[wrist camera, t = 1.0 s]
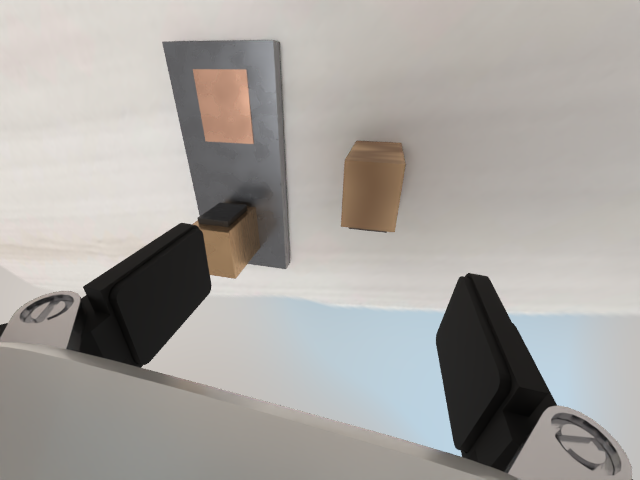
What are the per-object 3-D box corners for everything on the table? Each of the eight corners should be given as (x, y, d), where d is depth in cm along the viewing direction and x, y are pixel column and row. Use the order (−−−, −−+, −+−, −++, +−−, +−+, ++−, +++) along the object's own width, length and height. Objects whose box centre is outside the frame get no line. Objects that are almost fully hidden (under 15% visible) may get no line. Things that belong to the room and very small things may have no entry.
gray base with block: (279, 42, 23) (237, 25, 17) (289, 262, 34) (266, 303, 27) (173, 43, 25) (99, 29, 19) (215, 252, 36) (177, 288, 29)
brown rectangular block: (401, 142, 25) (405, 164, 18) (392, 201, 28) (393, 239, 21) (356, 140, 26) (344, 160, 19) (352, 198, 28) (340, 233, 22)
